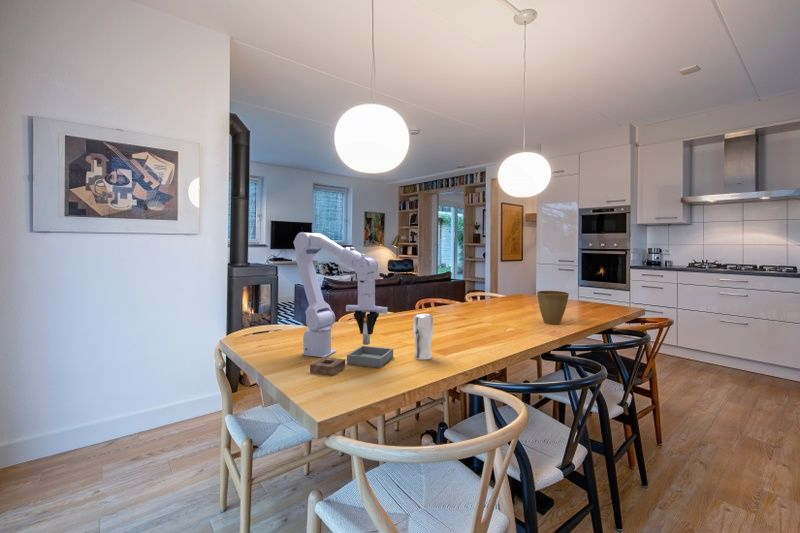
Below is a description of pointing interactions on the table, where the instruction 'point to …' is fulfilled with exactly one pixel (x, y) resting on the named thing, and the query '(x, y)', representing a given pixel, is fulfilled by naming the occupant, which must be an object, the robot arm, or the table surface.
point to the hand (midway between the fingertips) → (366, 333)
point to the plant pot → (552, 305)
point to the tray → (370, 356)
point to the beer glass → (423, 336)
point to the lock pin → (365, 332)
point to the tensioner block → (327, 366)
